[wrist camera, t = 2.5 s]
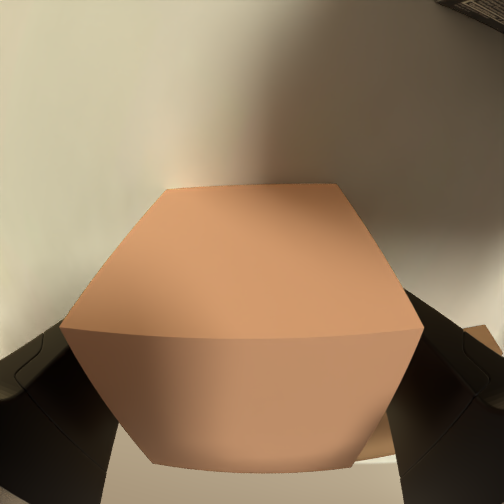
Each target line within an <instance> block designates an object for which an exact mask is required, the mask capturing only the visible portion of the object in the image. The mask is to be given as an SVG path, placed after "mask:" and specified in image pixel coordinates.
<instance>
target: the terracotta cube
mask: <svg viewBox="0 0 504 504" xmlns="http://www.w3.org/2000/svg"><path fill="white" fill-rule="evenodd" d="M59 328H60V329H61V331H62V333H63V335H64V337H65V339H66V341H67V343H68V344H69V346H70V348H71V350H72V351H73V353H74V355H75V357H76V358H77V360H78V362H79V363H80V365H81V367H82V368H83V370H84V372H85V373H86V375H87V376H88V378H89V380H90V381H91V383H92V384H93V386H94V387H95V389H96V390H97V392H98V393H99V395H100V396H101V398H102V399H103V401H104V402H105V404H106V405H107V406H108V408H109V409H110V411H111V412H112V413H113V415H114V416H115V418H116V419H117V420H118V422H119V423H120V424H121V426H122V427H123V428H124V429H125V431H126V432H127V433H128V435H129V436H130V437H131V438H132V440H133V441H134V442H135V443H136V444H137V446H138V447H139V448H140V449H141V450H142V452H143V453H144V454H145V455H146V456H147V458H148V459H149V460H150V461H151V462H152V463H153V464H159V465H165V466H172V467H179V468H187V469H195V470H205V471H216V472H232V473H297V472H313V471H323V470H334V469H342V468H349V467H352V465H353V464H354V462H355V461H356V459H357V458H358V456H359V455H360V453H361V451H362V450H363V448H364V447H365V445H366V444H367V442H368V440H369V439H370V437H371V435H372V434H373V432H374V430H375V429H376V427H377V425H378V423H379V422H380V420H381V418H382V416H383V415H384V413H385V411H386V409H387V407H388V405H389V404H390V402H391V400H392V398H393V396H394V394H395V392H396V390H397V388H398V386H399V384H400V382H401V380H402V378H403V376H404V374H405V372H406V369H407V367H408V365H409V363H410V361H411V358H412V356H413V354H414V352H415V349H416V347H417V345H418V342H419V340H420V337H421V335H422V332H423V330H424V326H423V324H422V322H421V320H420V319H419V317H418V315H417V313H416V311H415V309H414V307H413V305H412V304H411V302H410V300H409V298H408V296H407V295H406V293H405V291H404V289H403V287H402V286H401V284H400V282H399V280H398V279H397V277H396V275H395V274H394V272H393V270H392V268H391V267H390V265H389V263H388V262H387V260H386V258H385V257H384V255H383V253H382V252H381V250H380V249H379V247H378V245H377V244H376V242H375V241H374V239H373V237H372V236H371V234H370V233H369V231H368V230H367V228H366V227H365V225H364V223H363V222H362V220H361V219H360V217H359V216H358V214H357V213H356V211H355V210H354V208H353V207H352V205H351V204H350V203H349V201H348V200H347V198H346V197H345V195H344V194H343V192H342V191H341V190H340V188H339V187H338V185H337V184H257V185H230V186H210V187H193V188H179V189H167V190H166V191H165V192H164V193H163V194H162V195H161V196H160V197H159V198H158V200H157V201H156V202H155V203H154V204H153V205H152V206H151V208H150V209H149V210H148V211H147V212H146V213H145V214H144V216H143V217H142V218H141V219H140V220H139V221H138V223H137V224H136V225H135V226H134V227H133V229H132V230H131V231H130V232H129V233H128V235H127V236H126V237H125V238H124V240H123V241H122V242H121V243H120V245H119V246H118V247H117V248H116V249H115V251H114V252H113V253H112V255H111V256H110V257H109V258H108V260H107V261H106V262H105V264H104V265H103V266H102V267H101V269H100V270H99V271H98V273H97V274H96V275H95V277H94V278H93V279H92V281H91V282H90V283H89V285H88V286H87V288H86V289H85V290H84V292H83V293H82V294H81V296H80V297H79V299H78V300H77V301H76V303H75V304H74V306H73V307H72V309H71V310H70V311H69V313H68V314H67V316H66V317H65V319H64V320H63V322H62V323H61V325H60V326H59Z"/></svg>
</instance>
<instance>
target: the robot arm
mask: <svg viewBox="0 0 504 504" xmlns="http://www.w3.org/2000/svg"><path fill="white" fill-rule="evenodd" d="M403 289H404V288H403ZM404 291H405V293H406V295H407V296H408V298H409V300H410V302H411V304H412V305H413V307H414V309H415V311H416V313H417V315H418V317H419V319H420V320H421V322H422V324H423V326H424V330H423V332H422V335H421V337H420V340H419V342H418V345H417V347H416V349H415V352H414V354H413V356H412V358H411V361H410V363H409V365H408V367H407V369H406V372H405V374H404V376H403V378H402V380H401V382H400V384H399V386H398V388H397V390H396V392H395V394H394V396H393V398H392V400H391V402H390V404H389V405H388V407H387V409H386V414H387V418H388V422H389V427H390V431H391V436H392V440H393V445H394V450H395V454H396V459H397V464H398V470H399V475H400V477H401V478H400V482H401V487H402V493H403V500H404V504H504V357H502V356H501V355H499V354H498V353H496V352H495V351H493V350H492V349H490V348H489V347H487V346H486V345H484V344H483V343H481V342H480V341H479V340H477V339H476V338H474V337H473V336H472V335H470V334H469V333H468V332H466V331H464V330H463V329H462V328H461V327H459V326H458V325H456V324H455V323H454V322H452V321H451V320H449V319H448V318H446V317H445V316H444V315H442V314H441V313H439V312H438V311H436V310H435V309H434V308H432V307H431V306H429V305H428V304H426V303H425V302H423V301H422V300H420V299H419V298H418V297H416V296H415V295H413V294H412V293H410V292H409V291H407V290H406V289H404ZM64 319H65V318H64ZM64 319H63V320H64ZM63 320H61V321H60V322H58V323H57V324H55V325H54V326H52V327H51V328H49V329H48V330H46V331H45V332H44V333H42V334H40V335H39V336H37V337H36V338H35V339H33V340H32V341H30V342H29V343H27V344H26V345H24V346H23V347H21V348H19V349H18V350H16V351H14V352H13V353H11V354H10V355H8V356H6V357H5V358H3V359H1V360H0V504H100V503H101V497H102V493H103V487H104V483H105V478H106V472H107V468H108V464H109V460H110V456H111V451H112V447H113V443H114V439H115V435H116V431H117V428H118V424H119V422H118V420H117V419H116V418H115V416H114V415H113V413H112V412H111V411H110V409H109V408H108V406H107V405H106V404H105V402H104V401H103V399H102V398H101V396H100V395H99V393H98V392H97V390H96V389H95V387H94V386H93V384H92V383H91V381H90V380H89V378H88V376H87V375H86V373H85V372H84V370H83V368H82V367H81V365H80V363H79V362H78V360H77V358H76V357H75V355H74V353H73V351H72V350H71V348H70V346H69V344H68V343H67V341H66V339H65V337H64V335H63V333H62V331H61V329H60V328H59V326H60V325H61V323H62V322H63Z"/></svg>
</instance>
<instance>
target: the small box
mask: <svg viewBox="0 0 504 504" xmlns="http://www.w3.org/2000/svg"><path fill="white" fill-rule="evenodd" d="M436 1H437V2H438V3H439V4H441V5H444V6H447V7H449V8H452V9H454V10H457V11H459V12H461V13H464V14H466V15H468V16H470V17H472V18H474V19H476V20H478V21H481V22H483V23H484V24H486V25H489V26H491V27H493V28H494V29H496V30H498V31H500V32H502V33H504V0H436Z"/></svg>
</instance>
